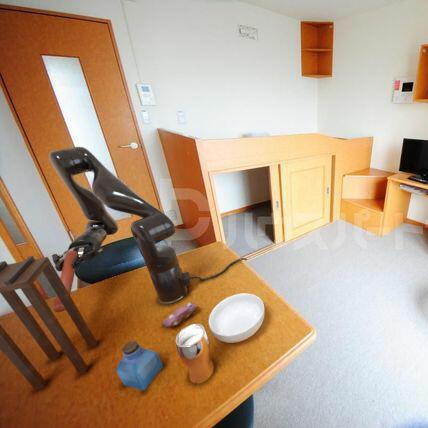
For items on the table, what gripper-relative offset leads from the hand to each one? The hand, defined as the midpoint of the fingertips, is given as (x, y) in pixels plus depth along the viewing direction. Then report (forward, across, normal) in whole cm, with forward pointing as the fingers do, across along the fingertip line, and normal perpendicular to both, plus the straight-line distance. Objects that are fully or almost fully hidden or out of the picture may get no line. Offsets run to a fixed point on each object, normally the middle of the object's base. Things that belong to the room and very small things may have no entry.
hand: (66, 267), depth 76 cm
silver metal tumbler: (+38, +35, +22) cm, 56 cm away
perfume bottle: (+33, +21, +22) cm, 44 cm away
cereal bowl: (+28, +47, +21) cm, 58 cm away
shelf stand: (+20, +1, +20) cm, 29 cm away
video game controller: (+16, +29, +20) cm, 39 cm away
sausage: (+2, 0, +4) cm, 5 cm away
